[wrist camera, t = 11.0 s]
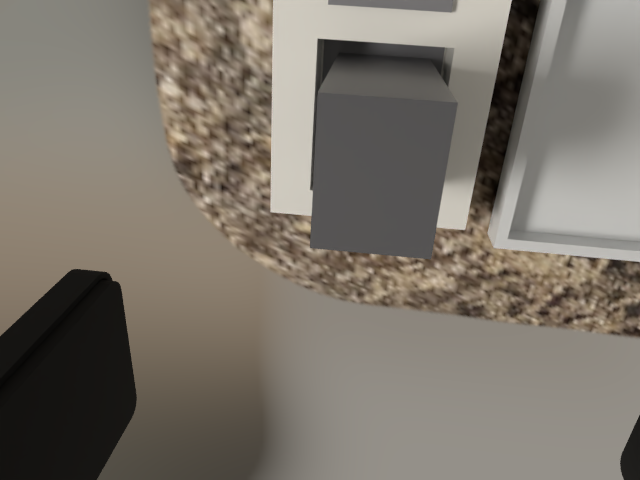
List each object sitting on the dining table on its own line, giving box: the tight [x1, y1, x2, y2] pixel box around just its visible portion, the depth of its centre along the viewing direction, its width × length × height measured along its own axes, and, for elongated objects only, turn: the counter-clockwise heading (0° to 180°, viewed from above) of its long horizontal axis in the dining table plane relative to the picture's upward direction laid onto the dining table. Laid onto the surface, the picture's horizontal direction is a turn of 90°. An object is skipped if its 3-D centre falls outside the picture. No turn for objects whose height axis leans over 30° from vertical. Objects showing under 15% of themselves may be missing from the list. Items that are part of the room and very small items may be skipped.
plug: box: [310, 52, 458, 259], centre depth 22 cm, size 4×6×10 cm
